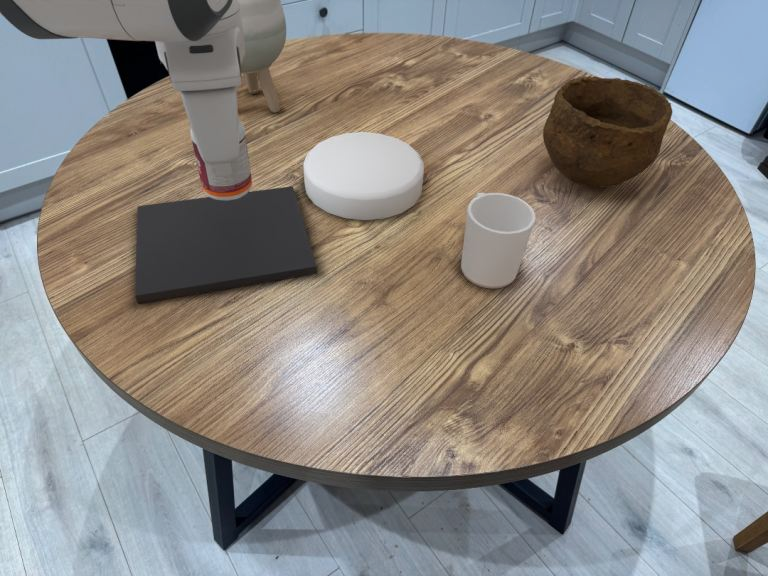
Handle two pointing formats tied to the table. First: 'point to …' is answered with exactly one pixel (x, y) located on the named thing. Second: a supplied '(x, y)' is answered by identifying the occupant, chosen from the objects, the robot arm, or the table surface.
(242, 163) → the pill bottle
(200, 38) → the robot arm
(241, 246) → the board
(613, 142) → the bowl
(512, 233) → the mug
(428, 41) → the table surface
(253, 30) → the planter
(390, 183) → the container
